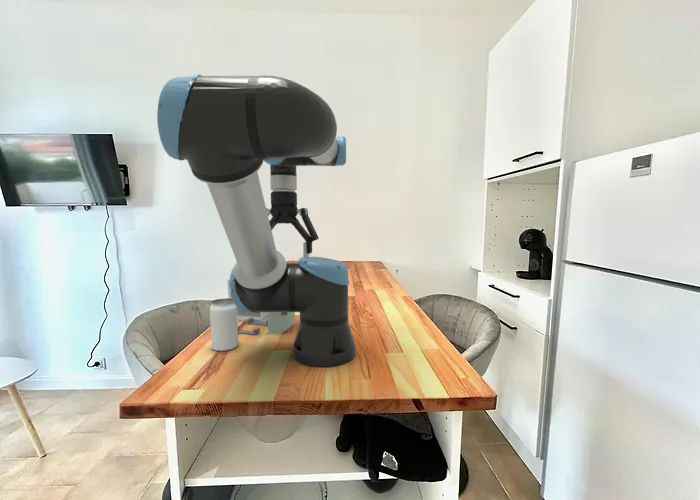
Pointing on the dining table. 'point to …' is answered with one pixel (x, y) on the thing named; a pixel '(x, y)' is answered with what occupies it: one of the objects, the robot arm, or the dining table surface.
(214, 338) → the can
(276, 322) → the door
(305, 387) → the dining table surface
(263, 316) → the cabinet
